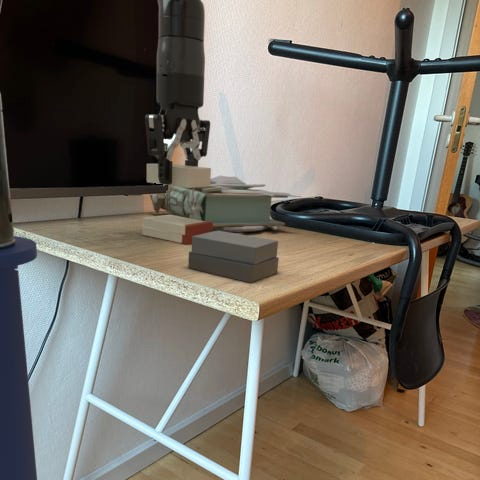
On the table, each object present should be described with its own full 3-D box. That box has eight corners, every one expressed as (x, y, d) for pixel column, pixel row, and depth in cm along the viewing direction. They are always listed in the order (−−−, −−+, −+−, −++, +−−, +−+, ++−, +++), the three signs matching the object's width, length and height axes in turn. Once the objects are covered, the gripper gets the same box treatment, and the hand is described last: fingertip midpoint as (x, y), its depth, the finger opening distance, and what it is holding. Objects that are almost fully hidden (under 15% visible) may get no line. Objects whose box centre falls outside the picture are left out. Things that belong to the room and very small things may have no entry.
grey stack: (250, 283, 61) (253, 248, 59) (187, 267, 66) (189, 235, 64) (278, 272, 67) (281, 241, 65) (218, 259, 72) (220, 229, 70)
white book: (188, 187, 78) (188, 168, 77) (146, 182, 82) (146, 163, 81) (210, 186, 83) (211, 168, 82) (169, 181, 87) (170, 163, 86)
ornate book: (145, 216, 111) (202, 236, 86) (145, 172, 108) (203, 180, 83) (232, 215, 122) (304, 233, 97) (234, 175, 119) (308, 183, 94)
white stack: (186, 244, 80) (187, 226, 79) (140, 235, 85) (140, 217, 84) (212, 239, 86) (213, 222, 85) (168, 230, 91) (168, 214, 90)
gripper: (190, 79, 84) (187, 180, 90) (130, 66, 73) (131, 182, 79) (226, 79, 81) (220, 184, 86) (168, 65, 69) (167, 187, 75)
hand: (178, 183), depth 82 cm, fingers closed on white book, 6 cm apart
